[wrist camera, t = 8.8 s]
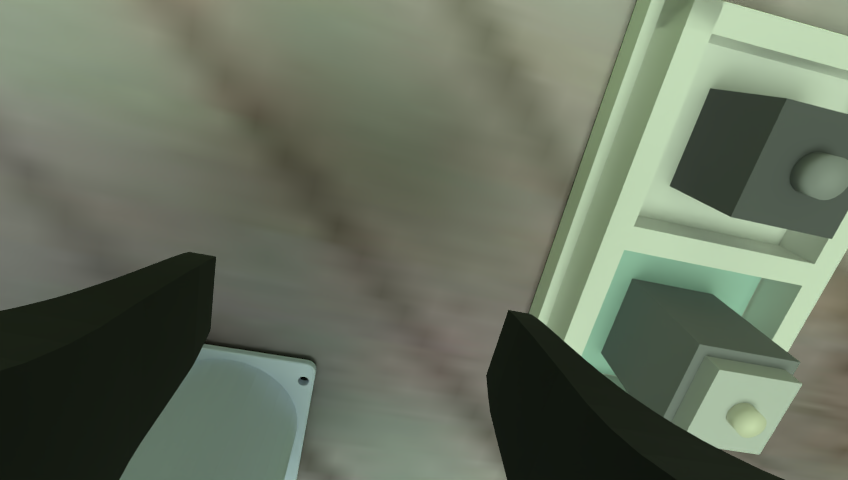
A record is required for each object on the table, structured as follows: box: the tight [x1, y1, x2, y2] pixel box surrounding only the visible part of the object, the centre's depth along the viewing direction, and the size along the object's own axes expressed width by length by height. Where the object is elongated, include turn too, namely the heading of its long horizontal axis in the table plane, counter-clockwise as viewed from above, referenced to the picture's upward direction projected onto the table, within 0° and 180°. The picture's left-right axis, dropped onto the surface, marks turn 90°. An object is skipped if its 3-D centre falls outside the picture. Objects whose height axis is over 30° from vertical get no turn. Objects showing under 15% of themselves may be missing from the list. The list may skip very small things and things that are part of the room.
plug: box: [670, 88, 848, 239], centre depth 18 cm, size 4×4×5 cm
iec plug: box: [601, 278, 802, 455], centre depth 20 cm, size 4×4×7 cm
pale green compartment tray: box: [529, 0, 848, 392], centre depth 21 cm, size 17×11×3 cm, turn 167°
